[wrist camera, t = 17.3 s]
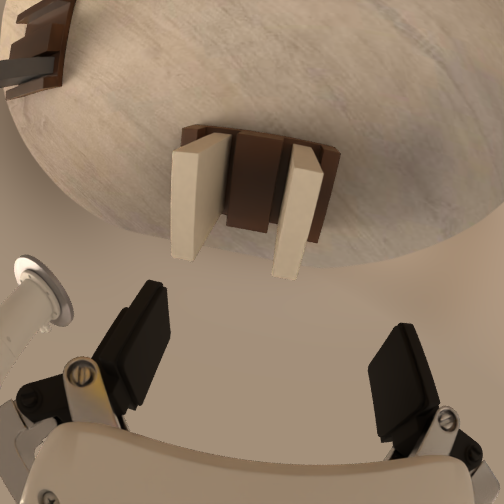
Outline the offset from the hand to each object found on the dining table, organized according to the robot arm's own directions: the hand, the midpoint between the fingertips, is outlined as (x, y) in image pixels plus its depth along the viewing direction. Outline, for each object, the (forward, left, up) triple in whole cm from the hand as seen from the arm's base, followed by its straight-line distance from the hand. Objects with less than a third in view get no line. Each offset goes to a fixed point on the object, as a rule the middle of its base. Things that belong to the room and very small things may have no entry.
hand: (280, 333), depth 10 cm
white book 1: (0, +7, -19) cm, 20 cm away
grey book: (+14, +35, -19) cm, 42 cm away
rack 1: (+17, +35, -20) cm, 43 cm away
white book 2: (0, -1, -19) cm, 19 cm away
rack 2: (0, +3, -20) cm, 20 cm away
